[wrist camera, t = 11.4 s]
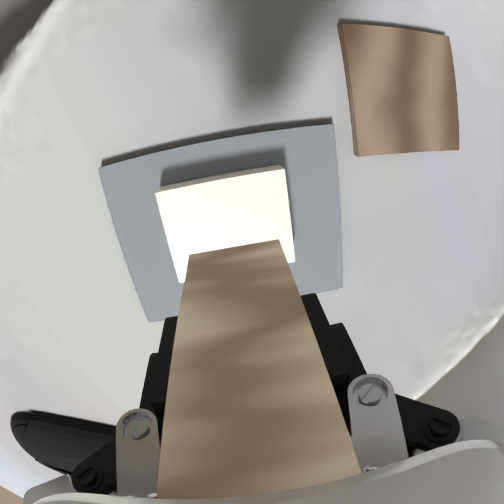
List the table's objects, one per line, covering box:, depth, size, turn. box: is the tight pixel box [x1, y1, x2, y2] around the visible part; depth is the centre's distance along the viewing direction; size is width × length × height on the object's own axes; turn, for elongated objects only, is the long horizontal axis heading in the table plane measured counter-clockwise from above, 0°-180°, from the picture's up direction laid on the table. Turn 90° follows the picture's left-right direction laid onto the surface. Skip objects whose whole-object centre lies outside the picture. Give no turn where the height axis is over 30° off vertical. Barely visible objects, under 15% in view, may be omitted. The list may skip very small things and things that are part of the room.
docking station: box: [11, 411, 116, 476], centre depth 42 cm, size 25×41×5 cm, turn 80°
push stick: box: [157, 239, 361, 499], centre depth 10 cm, size 4×4×11 cm
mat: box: [98, 124, 342, 322], centre depth 28 cm, size 20×16×1 cm
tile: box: [155, 165, 295, 283], centre depth 26 cm, size 10×2×8 cm
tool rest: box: [337, 24, 459, 157], centre depth 23 cm, size 12×12×1 cm
